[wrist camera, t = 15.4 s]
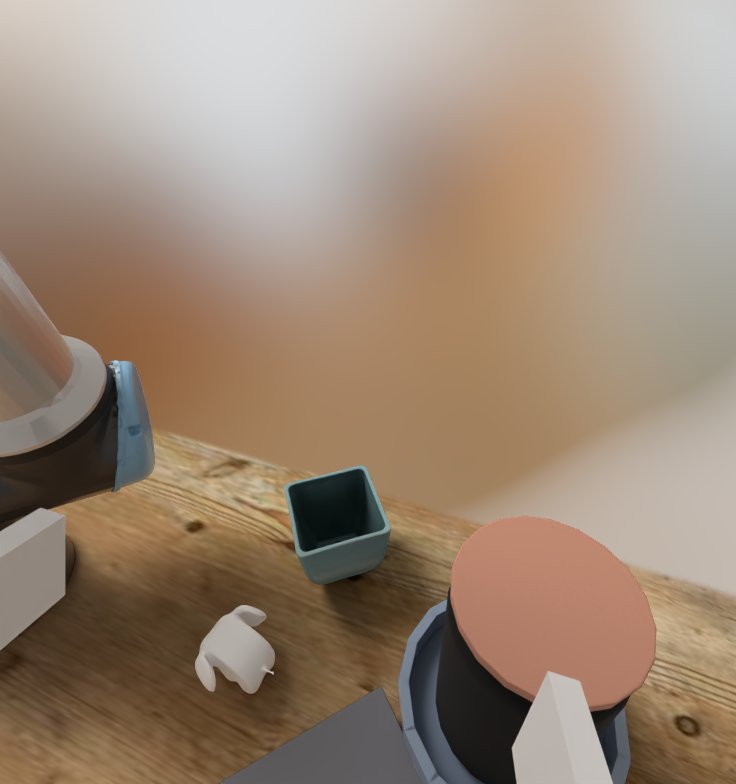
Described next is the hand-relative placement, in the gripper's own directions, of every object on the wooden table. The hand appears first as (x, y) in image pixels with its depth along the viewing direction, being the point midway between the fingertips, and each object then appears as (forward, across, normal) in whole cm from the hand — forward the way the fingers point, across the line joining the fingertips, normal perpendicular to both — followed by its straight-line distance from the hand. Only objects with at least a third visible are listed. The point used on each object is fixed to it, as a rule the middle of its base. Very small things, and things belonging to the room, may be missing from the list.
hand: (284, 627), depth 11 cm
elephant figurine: (+20, -6, -28) cm, 34 cm away
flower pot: (+30, -1, -22) cm, 38 cm away
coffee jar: (+19, +15, -22) cm, 33 cm away
